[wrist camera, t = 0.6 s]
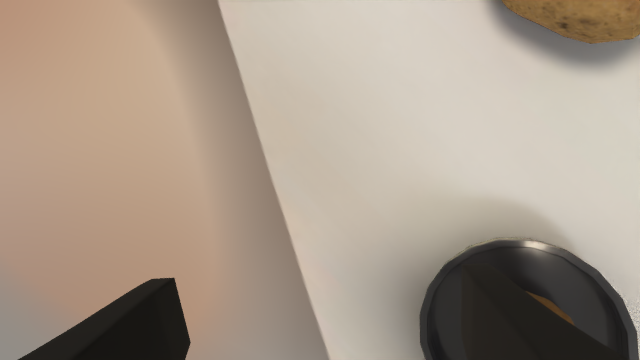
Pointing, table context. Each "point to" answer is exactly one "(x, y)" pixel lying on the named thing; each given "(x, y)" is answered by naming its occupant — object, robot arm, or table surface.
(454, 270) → the bowl
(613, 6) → the potato
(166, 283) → the robot arm
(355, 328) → the table surface
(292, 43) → the table surface
